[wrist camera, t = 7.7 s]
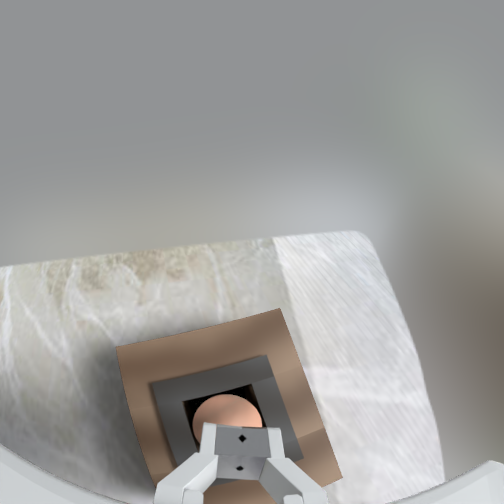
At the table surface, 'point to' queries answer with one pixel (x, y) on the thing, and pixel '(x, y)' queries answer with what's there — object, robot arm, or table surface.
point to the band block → (217, 382)
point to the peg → (225, 413)
